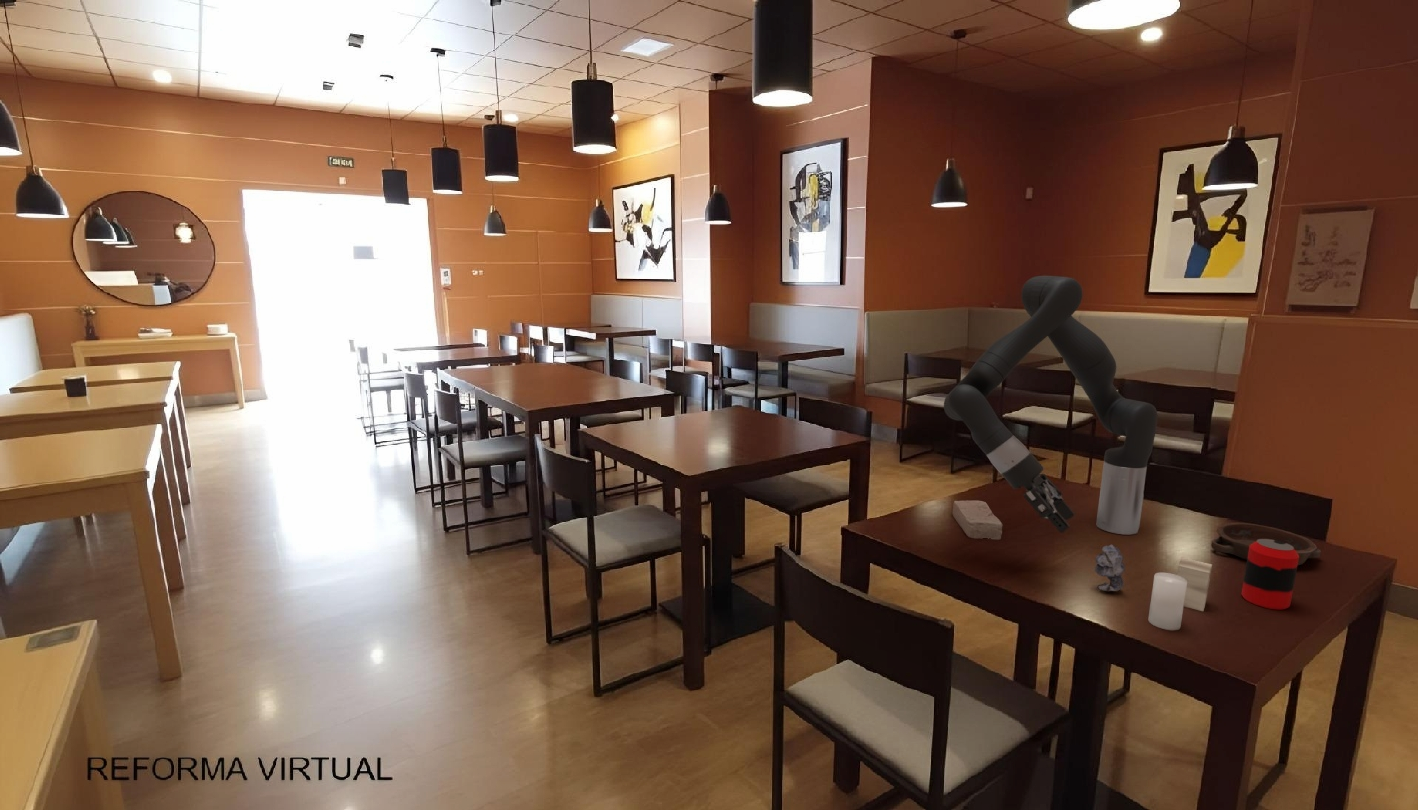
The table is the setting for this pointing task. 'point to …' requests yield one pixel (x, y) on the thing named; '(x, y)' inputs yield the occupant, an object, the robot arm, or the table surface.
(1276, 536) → the dish
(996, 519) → the brick
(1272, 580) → the soda can
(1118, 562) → the fossil stone
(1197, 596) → the birch block
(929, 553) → the table surface
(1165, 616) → the ceramic cylinder
